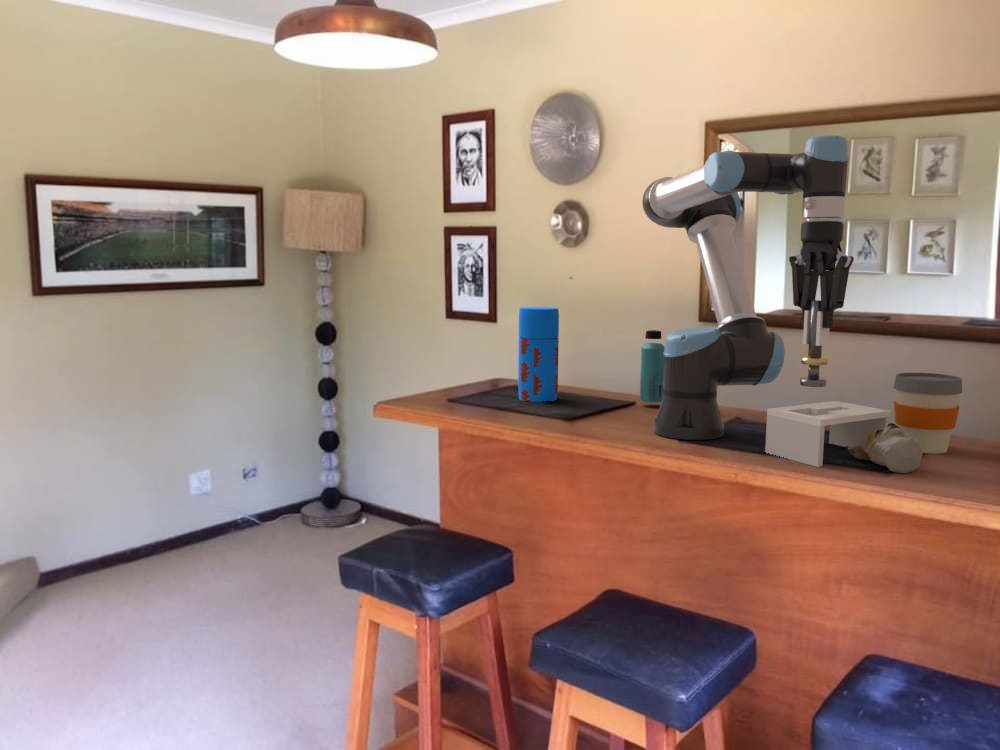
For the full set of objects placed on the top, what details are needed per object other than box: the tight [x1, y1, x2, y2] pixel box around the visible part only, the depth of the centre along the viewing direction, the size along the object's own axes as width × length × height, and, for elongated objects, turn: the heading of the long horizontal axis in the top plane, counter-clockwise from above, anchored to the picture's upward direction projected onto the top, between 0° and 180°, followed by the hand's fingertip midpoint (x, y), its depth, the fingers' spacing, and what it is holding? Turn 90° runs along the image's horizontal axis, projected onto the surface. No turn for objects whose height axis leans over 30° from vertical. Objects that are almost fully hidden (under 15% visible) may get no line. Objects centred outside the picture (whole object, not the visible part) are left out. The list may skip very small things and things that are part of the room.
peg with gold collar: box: [799, 299, 829, 388], centre depth 161 cm, size 5×5×16 cm
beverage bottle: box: [639, 329, 665, 404], centre depth 218 cm, size 6×7×20 cm
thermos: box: [517, 306, 560, 403], centre depth 228 cm, size 11×11×25 cm
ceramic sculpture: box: [844, 422, 924, 474], centre depth 157 cm, size 11×9×15 cm
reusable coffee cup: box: [893, 372, 963, 454], centre depth 171 cm, size 13×13×15 cm
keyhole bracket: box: [764, 400, 891, 468], centre depth 166 cm, size 20×13×9 cm, turn 119°
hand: (815, 344), depth 161 cm, fingers closed on peg with gold collar, 2 cm apart
